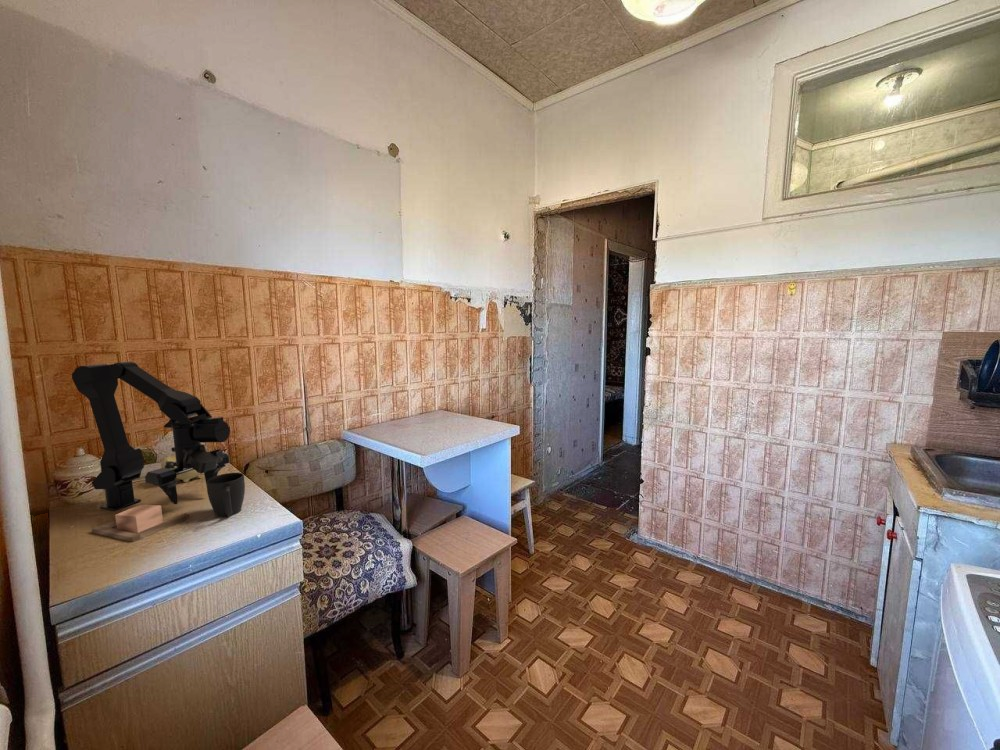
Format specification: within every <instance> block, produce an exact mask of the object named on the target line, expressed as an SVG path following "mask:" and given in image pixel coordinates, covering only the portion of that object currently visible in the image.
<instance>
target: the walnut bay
mask: <svg viewBox="0 0 1000 750" xmlns="http://www.w3.org/2000/svg"><path fill="white" fill-rule="evenodd" d="M190 518H191V516H190V513H188V512H187V513H183V514H180V515H178V516H175V517H173V518H171V519H167V520H166V521H163V522H162V523H160V524H158V525H156V526H153V527H151V528H149V529H146V530H144V531H141V532H139V533H136V534H135V533H130V532H126V531H121V530H117V528H116V529H115V528H114V527H117V525H116V519H115V520H112V521H108V522H106V523H103V524H100V525H98V526H95V527H92V528H91V533H93V534H97V535H101V536H106V537H110V538H114V539H119V540H122V541H127V542H131V543H134V542H136V541H140V540H141V539H144V538H146V537H147V536H150V535H153V534H155V533H157V532H160V531H162V530H165V529H167V528H170V527H171V526H174V525H176V524H179V523H181V522H183V521H185V520H188V519H190Z"/></svg>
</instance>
